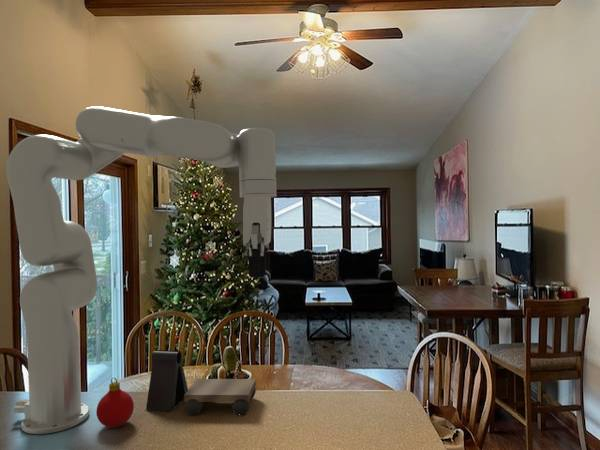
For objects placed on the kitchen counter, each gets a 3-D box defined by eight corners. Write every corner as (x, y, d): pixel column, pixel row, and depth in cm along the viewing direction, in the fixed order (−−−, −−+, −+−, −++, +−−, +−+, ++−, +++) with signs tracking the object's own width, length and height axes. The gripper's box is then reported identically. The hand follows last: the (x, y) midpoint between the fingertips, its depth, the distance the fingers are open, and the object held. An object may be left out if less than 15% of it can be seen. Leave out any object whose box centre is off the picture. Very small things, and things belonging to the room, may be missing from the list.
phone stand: (170, 412, 95) (169, 358, 95) (145, 410, 97) (144, 356, 96) (189, 395, 104) (187, 345, 104) (166, 393, 105) (164, 344, 105)
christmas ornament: (89, 430, 88) (87, 381, 88) (117, 415, 95) (115, 369, 94) (114, 437, 85) (112, 386, 85) (141, 421, 92) (140, 374, 91)
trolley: (184, 415, 94) (184, 394, 93) (197, 397, 103) (196, 378, 102) (249, 415, 93) (248, 395, 93) (255, 397, 102) (255, 379, 102)
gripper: (245, 192, 98) (247, 268, 98) (232, 188, 81) (235, 280, 81) (279, 191, 98) (280, 267, 98) (273, 187, 80) (275, 279, 81)
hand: (260, 273), depth 90 cm, fingers open, 9 cm apart
